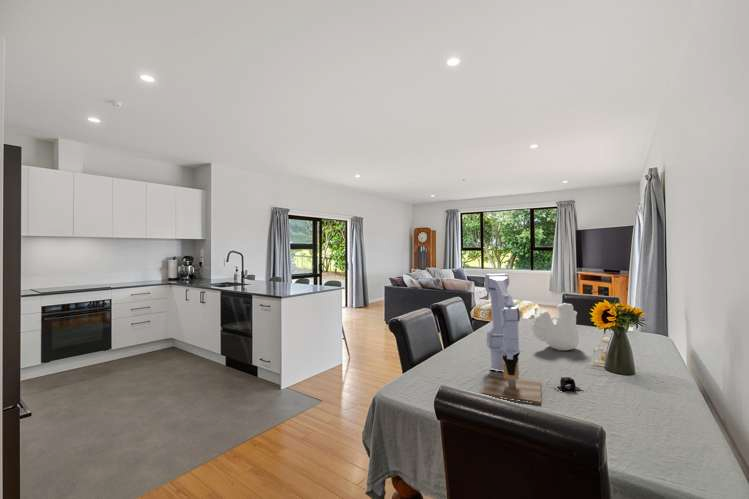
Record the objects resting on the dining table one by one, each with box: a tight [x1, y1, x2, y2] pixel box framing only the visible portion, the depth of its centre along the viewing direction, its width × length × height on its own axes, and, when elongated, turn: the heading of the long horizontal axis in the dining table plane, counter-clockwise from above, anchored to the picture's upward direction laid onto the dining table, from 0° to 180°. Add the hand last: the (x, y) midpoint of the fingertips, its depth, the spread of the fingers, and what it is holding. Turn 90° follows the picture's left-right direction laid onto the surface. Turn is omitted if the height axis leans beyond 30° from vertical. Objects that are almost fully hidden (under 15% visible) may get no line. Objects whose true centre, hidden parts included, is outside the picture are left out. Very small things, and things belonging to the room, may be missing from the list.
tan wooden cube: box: [503, 360, 520, 380], centre depth 131 cm, size 5×5×6 cm
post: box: [508, 379, 516, 388], centre depth 131 cm, size 3×3×5 cm
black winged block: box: [557, 376, 584, 393], centre depth 130 cm, size 12×7×5 cm, turn 91°
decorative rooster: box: [530, 302, 580, 351], centre depth 182 cm, size 25×16×25 cm, turn 81°
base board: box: [481, 374, 542, 406], centre depth 131 cm, size 20×20×1 cm
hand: (511, 372), depth 131 cm, fingers closed on tan wooden cube, 5 cm apart
